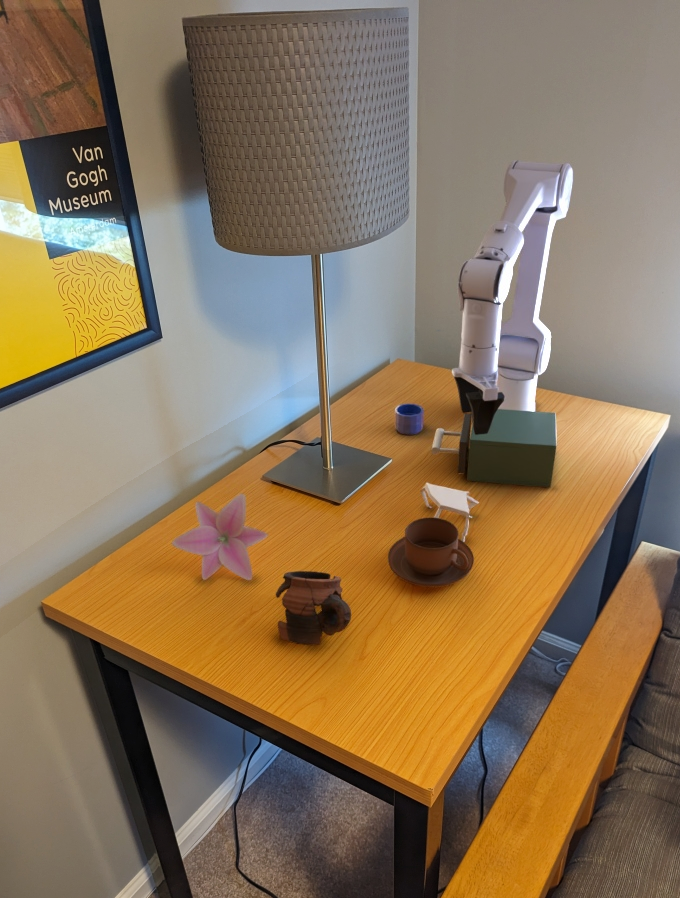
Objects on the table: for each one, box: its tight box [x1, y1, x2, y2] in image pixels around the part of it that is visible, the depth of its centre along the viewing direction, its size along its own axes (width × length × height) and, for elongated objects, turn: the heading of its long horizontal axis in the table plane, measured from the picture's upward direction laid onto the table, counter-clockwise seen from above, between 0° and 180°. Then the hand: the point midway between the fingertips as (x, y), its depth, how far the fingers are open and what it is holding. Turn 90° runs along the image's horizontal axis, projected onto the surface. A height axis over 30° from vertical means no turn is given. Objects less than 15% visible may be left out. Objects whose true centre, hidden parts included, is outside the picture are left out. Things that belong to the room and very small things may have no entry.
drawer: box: [430, 412, 472, 475], centre depth 126 cm, size 17×10×6 cm, turn 79°
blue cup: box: [394, 403, 425, 436], centre depth 138 cm, size 5×5×4 cm
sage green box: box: [466, 409, 558, 488], centre depth 125 cm, size 14×12×8 cm
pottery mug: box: [275, 570, 352, 646], centre depth 95 cm, size 12×10×8 cm
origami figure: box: [419, 482, 480, 543], centre depth 113 cm, size 12×8×5 cm
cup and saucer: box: [387, 516, 475, 588], centre depth 103 cm, size 12×12×6 cm
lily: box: [171, 493, 269, 581], centre depth 105 cm, size 12×12×10 cm
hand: (474, 422), depth 120 cm, fingers open, 7 cm apart
